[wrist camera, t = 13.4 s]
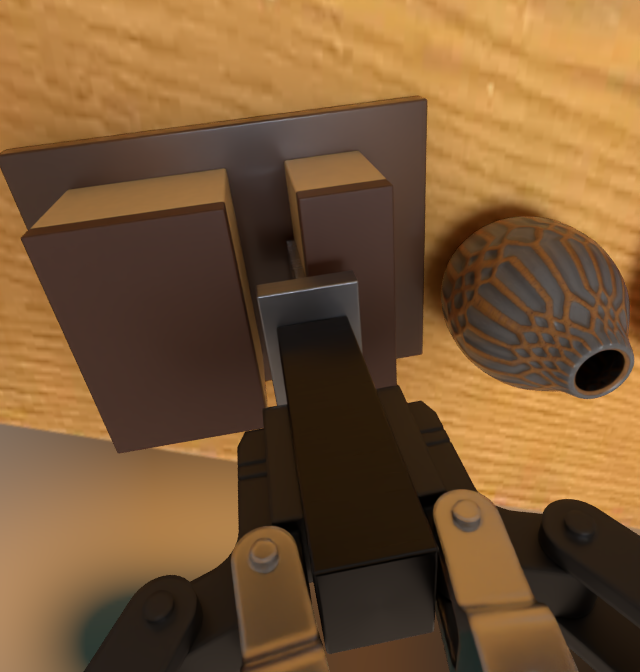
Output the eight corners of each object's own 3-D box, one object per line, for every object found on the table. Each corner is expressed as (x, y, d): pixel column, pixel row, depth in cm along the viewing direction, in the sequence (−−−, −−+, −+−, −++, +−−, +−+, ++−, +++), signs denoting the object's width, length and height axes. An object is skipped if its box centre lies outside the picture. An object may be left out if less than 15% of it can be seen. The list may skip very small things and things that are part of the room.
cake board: (109, 395, 25) (105, 408, 24) (4, 149, 19) (-7, 155, 18) (416, 344, 26) (422, 354, 25) (419, 95, 20) (428, 98, 19)
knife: (268, 329, 22) (312, 685, 10) (249, 222, 20) (278, 540, 8) (334, 318, 22) (451, 655, 11) (324, 211, 20) (467, 503, 8)
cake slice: (308, 349, 24) (324, 418, 20) (283, 160, 19) (297, 198, 15) (368, 339, 24) (397, 405, 20) (359, 149, 20) (394, 184, 15)
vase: (517, 336, 27) (624, 454, 20) (402, 316, 25) (472, 436, 18) (584, 216, 24) (742, 303, 16) (457, 182, 22) (571, 262, 15)
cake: (137, 377, 24) (117, 454, 19) (66, 189, 19) (19, 237, 15) (263, 356, 24) (269, 427, 20) (225, 167, 19) (224, 208, 15)
